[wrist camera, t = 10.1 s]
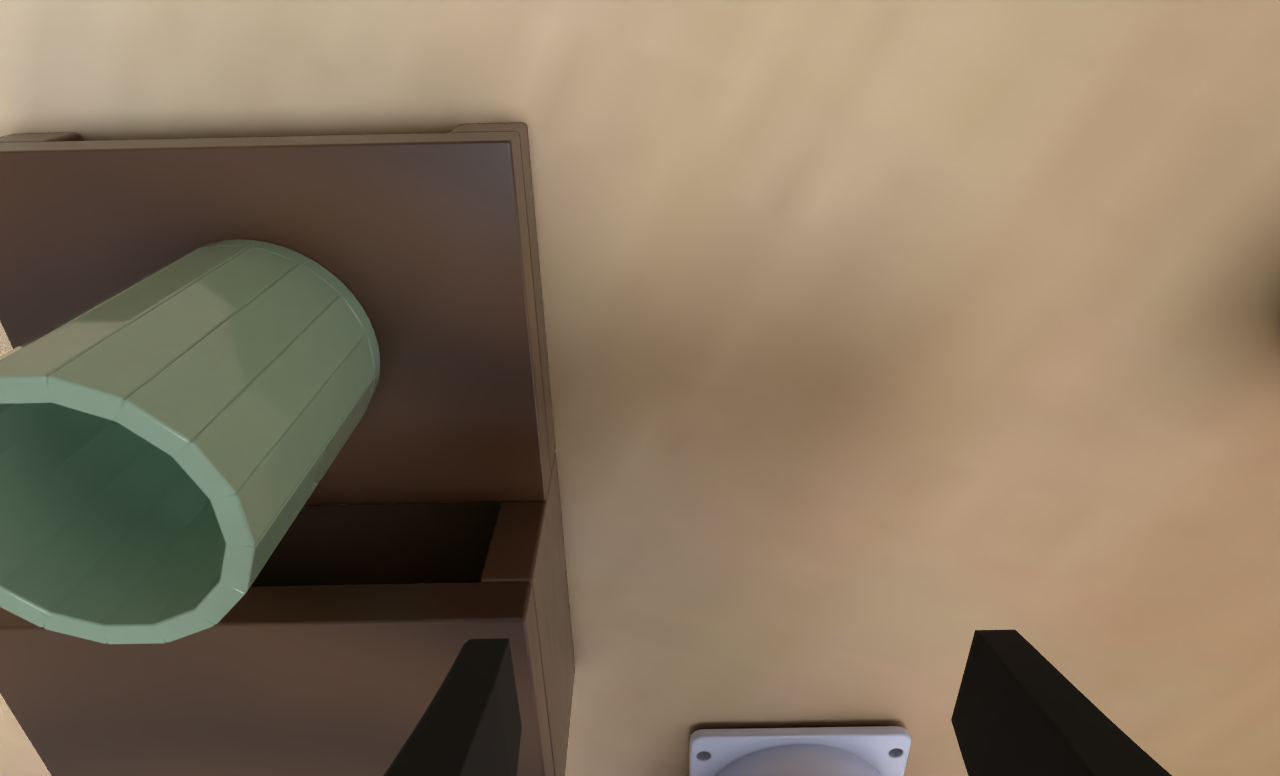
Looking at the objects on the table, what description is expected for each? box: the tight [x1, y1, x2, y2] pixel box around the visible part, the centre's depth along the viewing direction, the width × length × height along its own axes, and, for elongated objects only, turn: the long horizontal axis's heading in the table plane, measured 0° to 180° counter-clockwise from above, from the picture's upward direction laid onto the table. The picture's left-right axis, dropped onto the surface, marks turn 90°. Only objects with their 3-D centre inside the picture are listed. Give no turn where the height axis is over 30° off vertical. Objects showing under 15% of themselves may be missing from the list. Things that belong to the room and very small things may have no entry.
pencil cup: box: [0, 239, 380, 645], centre depth 14 cm, size 5×5×6 cm
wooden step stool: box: [0, 123, 575, 776], centre depth 18 cm, size 18×12×7 cm, turn 1°
